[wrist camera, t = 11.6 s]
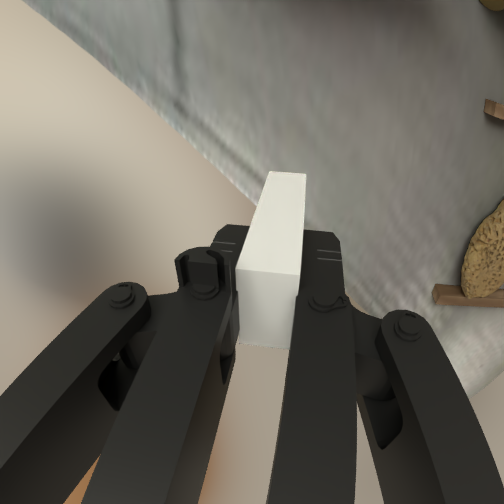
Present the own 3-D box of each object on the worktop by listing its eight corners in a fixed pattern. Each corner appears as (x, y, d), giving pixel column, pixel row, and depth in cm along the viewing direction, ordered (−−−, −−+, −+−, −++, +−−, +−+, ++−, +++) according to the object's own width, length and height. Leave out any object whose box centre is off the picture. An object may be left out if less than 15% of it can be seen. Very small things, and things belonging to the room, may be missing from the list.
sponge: (507, 169, 36) (434, 261, 43) (541, 188, 29) (462, 292, 36) (527, 215, 41) (463, 294, 48) (554, 235, 34) (486, 321, 41)
